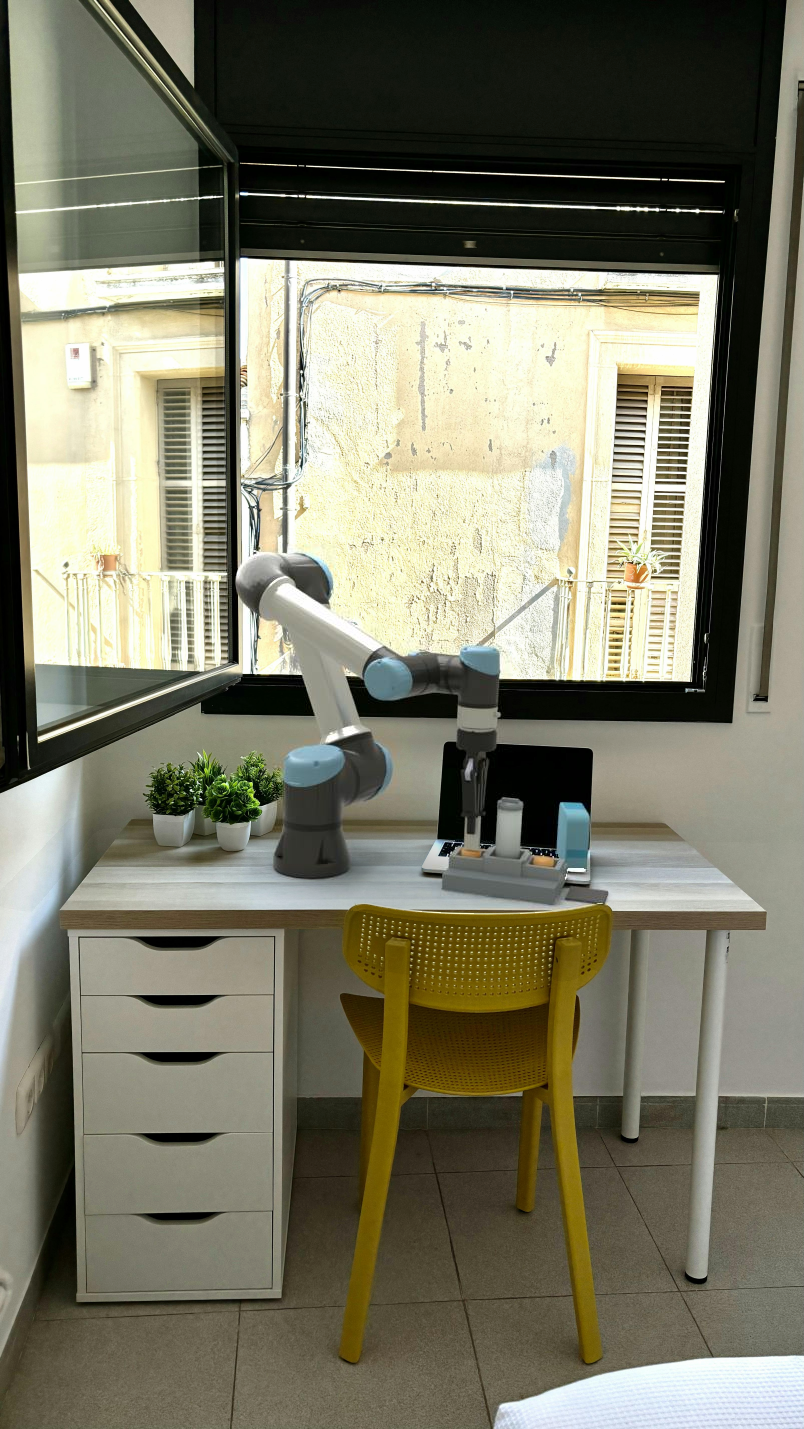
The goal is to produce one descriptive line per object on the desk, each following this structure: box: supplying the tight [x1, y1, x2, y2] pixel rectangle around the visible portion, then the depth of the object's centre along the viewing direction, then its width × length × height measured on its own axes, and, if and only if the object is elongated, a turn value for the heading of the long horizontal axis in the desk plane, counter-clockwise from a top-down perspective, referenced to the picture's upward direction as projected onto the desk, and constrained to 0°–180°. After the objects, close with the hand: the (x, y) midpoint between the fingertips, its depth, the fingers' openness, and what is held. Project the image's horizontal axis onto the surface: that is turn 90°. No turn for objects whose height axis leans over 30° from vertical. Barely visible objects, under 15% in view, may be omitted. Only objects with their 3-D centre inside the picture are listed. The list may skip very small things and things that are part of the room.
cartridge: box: [495, 796, 524, 860], centre depth 186 cm, size 5×5×14 cm
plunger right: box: [533, 855, 554, 868], centre depth 185 cm, size 4×4×2 cm
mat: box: [564, 885, 609, 905], centre depth 182 cm, size 7×7×1 cm
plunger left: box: [461, 848, 481, 858], centre depth 189 cm, size 4×4×2 cm
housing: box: [441, 845, 568, 906], centre depth 187 cm, size 21×16×6 cm
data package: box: [556, 801, 591, 869], centre depth 200 cm, size 12×4×12 cm, turn 178°
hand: (471, 848), depth 189 cm, fingers closed
